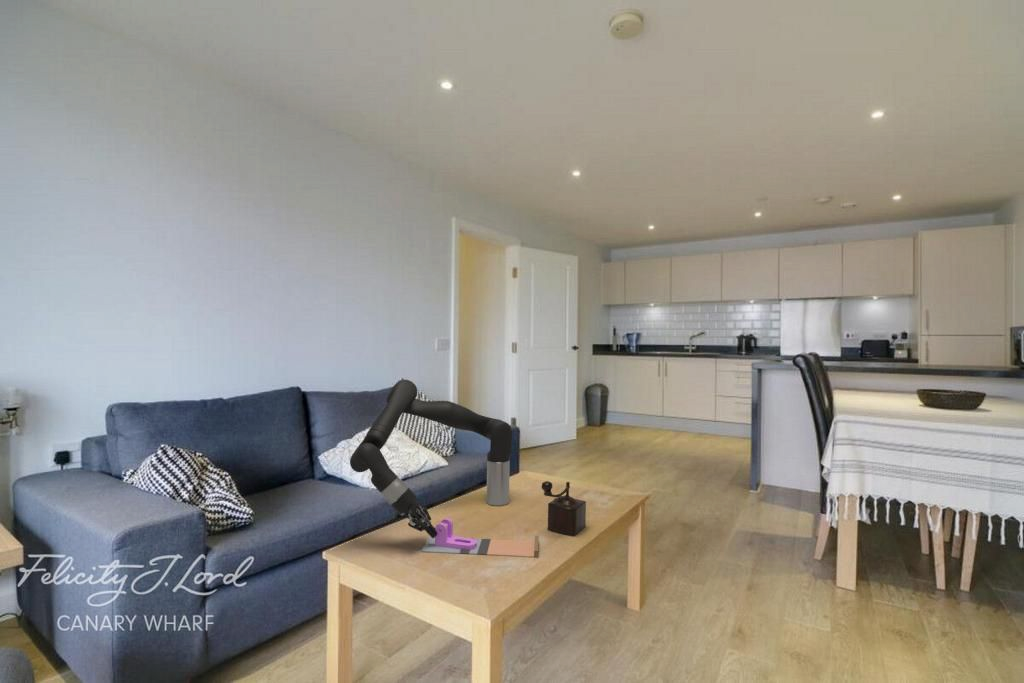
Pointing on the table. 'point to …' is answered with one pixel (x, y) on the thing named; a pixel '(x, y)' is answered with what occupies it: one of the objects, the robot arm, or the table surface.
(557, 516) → the manual coffee grinder
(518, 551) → the lane
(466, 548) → the bracket
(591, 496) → the table surface
